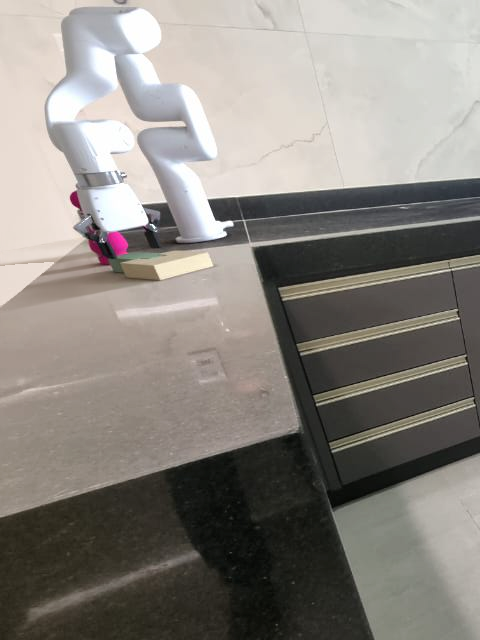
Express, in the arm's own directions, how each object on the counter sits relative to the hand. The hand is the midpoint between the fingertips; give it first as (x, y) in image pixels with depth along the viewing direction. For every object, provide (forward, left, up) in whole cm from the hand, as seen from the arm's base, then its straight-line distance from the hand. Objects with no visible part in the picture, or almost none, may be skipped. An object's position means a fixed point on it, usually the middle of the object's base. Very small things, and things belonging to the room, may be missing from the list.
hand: (134, 253), depth 129 cm
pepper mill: (-3, -16, -4) cm, 17 cm away
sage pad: (+1, +2, -4) cm, 4 cm away
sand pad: (+1, +12, -4) cm, 12 cm away
